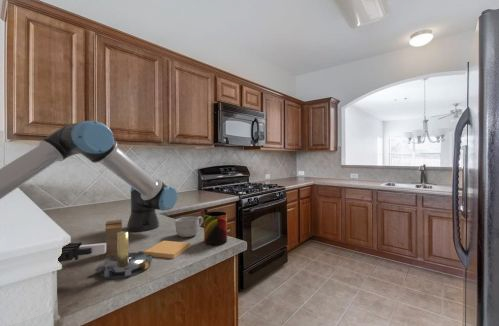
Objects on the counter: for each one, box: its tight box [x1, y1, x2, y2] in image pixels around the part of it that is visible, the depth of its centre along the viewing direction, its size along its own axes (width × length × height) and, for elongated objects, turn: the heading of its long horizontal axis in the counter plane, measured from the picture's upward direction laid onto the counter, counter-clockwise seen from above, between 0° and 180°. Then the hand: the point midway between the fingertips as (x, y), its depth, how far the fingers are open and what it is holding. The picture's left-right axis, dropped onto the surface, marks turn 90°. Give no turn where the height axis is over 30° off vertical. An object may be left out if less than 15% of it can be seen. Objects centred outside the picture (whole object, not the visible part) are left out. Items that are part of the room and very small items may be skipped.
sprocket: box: [97, 230, 153, 277], centre depth 75 cm, size 15×15×12 cm
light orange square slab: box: [143, 240, 191, 259], centre depth 90 cm, size 12×12×2 cm
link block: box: [105, 219, 123, 258], centre depth 87 cm, size 5×5×12 cm
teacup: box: [174, 215, 204, 238], centre depth 110 cm, size 14×11×8 cm
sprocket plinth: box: [99, 262, 151, 280], centre depth 75 cm, size 14×14×1 cm
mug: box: [203, 211, 228, 247], centre depth 102 cm, size 10×14×12 cm
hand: (105, 248), depth 70 cm, fingers closed
